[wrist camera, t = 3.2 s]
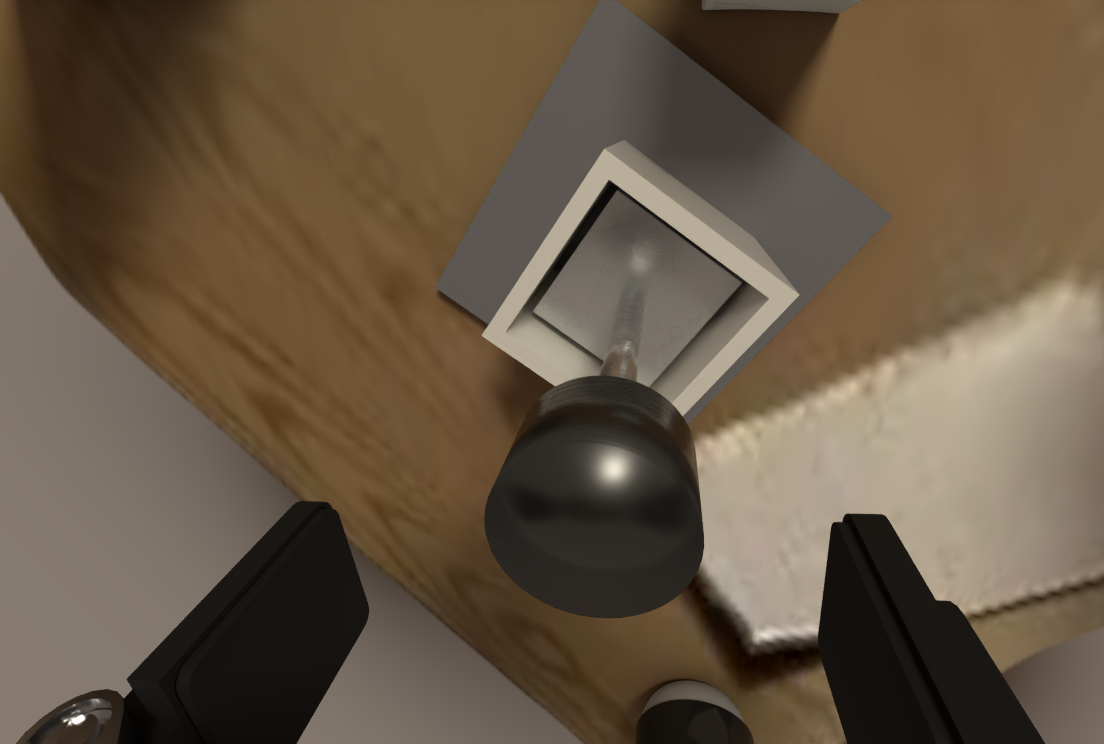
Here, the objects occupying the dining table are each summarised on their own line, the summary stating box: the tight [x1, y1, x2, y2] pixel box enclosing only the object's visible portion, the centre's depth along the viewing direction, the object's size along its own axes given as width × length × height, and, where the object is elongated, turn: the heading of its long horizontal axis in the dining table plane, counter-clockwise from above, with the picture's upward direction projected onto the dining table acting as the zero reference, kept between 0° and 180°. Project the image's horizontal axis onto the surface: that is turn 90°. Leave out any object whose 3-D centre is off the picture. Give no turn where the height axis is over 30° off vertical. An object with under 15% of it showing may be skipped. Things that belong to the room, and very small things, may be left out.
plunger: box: [484, 188, 742, 618], centre depth 19 cm, size 7×7×17 cm
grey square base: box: [435, 0, 892, 425], centre depth 29 cm, size 20×20×13 cm
